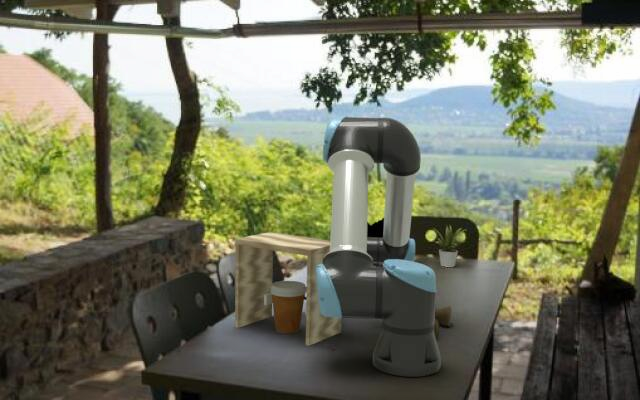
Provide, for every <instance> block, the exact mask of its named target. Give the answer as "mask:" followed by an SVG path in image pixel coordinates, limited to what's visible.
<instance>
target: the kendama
mask: <svg viewBox="0 0 640 400" xmlns="http://www.w3.org/2000/svg"><path fill="white" fill-rule="evenodd" d="M451 321H452V307H451V306H445V307H443V308H436V307H435V319H434V335H435V339H436V338H437V336H438V335H439V332H440V331H439V330H440V329H439V327H440V325H442V326H445V327H446V326H449V327H450V326H451ZM438 337H439V336H438Z"/></svg>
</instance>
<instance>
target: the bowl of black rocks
mask: <svg viewBox="0 0 640 400" xmlns="http://www.w3.org/2000/svg"><path fill="white" fill-rule="evenodd" d="M383 231H384V217H382V219H379V220H378V221H375V222H374V223H372V224H371V223H369V222H368V221H367V237H375V238H383ZM380 264H381V263H373V266H376V267H377V266H379V265H380Z"/></svg>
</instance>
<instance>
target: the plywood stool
mask: <svg viewBox="0 0 640 400" xmlns="http://www.w3.org/2000/svg"><path fill="white" fill-rule="evenodd" d="M274 251H275V252H281V253H288V254H294V255H300V256H306V257H307V258H306V261H307V262H306V264H307V265H306V266H307V267H306V287H307V292H306V297H307V300H306V314H305V315H306V316H305V346H309V347H310V346H311V345H314V344H316V343H320V342H322V341H323V340H326V339H329V338H331V337H333V336H335V335H338V334H340V333H342V318H341V319H339V318H336V317H326V316H323V315H322V314H321V313H320V310H319V300H318V288H317V276H316V266H317V265H319V264H322V263H323V257H324V256H325V255H326V254H327V253H329V252H330V240H328V239H323V238H321V239H320V238H314V237H307V236H301V235H300V236H299V235H293V234H285V233H280V232H271V231H270V232H269V231H268V232H264V233H259V234H254V235H253V234H252V235H249V236H243V237H242V236H241V237H237V238H235V269H234V270H235V275H234V277H235V283H234V284H235V286H234V290H235V292H234V293H235V294H234V295H235V296H234V298H235V299H234V301H235V303H234V306H235V307H234V309H235V310H234V311H235V312H234V318H235V319H234V327H235V328H237V329H239V328H242V327H246V326H249V325H250V324H253V323H256V322H259V321H262V320H265V319H268V318H271V317H273V303H272V304H269V305H264V295H265V294H268V293H271V291H270V288H271V286H272V284H273V272H274V270H273V269H274V268H273V266H274V265H273V262H274V261H273V260H274Z"/></svg>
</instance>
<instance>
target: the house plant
mask: <svg viewBox="0 0 640 400" xmlns="http://www.w3.org/2000/svg"><path fill="white" fill-rule="evenodd" d="M445 226H446V228H445V240H444V237H443V235H442V234H441V233H440V231H438V230H437V229H436V228H434V230H435V231H436V232H437V233H438V235H439V237H440V238H441V239H440V238H439V237H437V241H435V244H438V245H439V246H440V249H439V250H438V254H439V255H438V256H439V261H440V262H439V263H440V267H441V266H445V267H453V266H456V262H457V257H458V253H459V251H458V250H457V249H456V248H457V247H458V246H459V245H460V244H462V243H463V244H465V240H463V241H460V243H459V241H457V240H458V239H459V238H460V237H461V236H462V235H463V233H462V232H464V231H466V229H463V227H461V228H459V229H456V231H455V232H454V233H453V228H452V225H449V227H448V225H447V224H445ZM462 229H463V230H462ZM461 233H462V234H461ZM458 243H459V244H458ZM453 248H454V249H453Z"/></svg>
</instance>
